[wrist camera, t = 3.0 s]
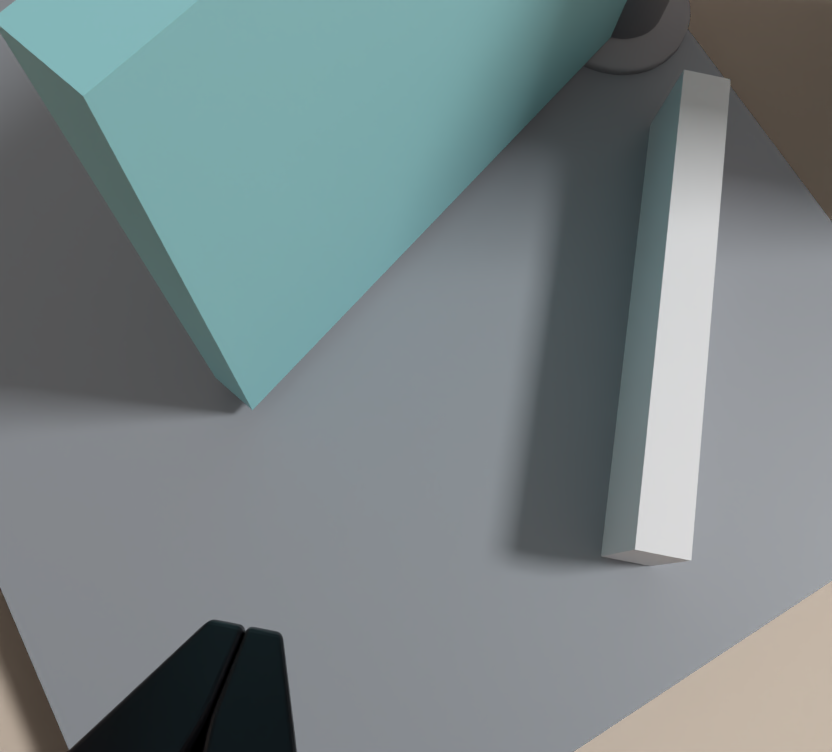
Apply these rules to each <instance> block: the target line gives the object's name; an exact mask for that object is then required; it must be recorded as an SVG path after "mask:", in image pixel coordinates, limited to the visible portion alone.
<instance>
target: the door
mask: <svg viewBox="0 0 832 752" xmlns="http://www.w3.org/2000/svg"><path fill="white" fill-rule="evenodd" d="M669 1H670V0H16V1H14V2H13V3H12V4H10V5H9V6H8V7H6V8H5V9H4V10H3V11H1V12H0V33H1V35H2V37H3V38H4V40H5V41H6V43H7V45H8V46H9V48H10V49H11V51H12V53H13V54H14V56H15V57H16V59H17V61H18V62H19V64H20V65H21V67H22V69H23V70H24V72H25V73H26V75H27V77H28V78H29V80H30V81H31V83H32V85H33V86H34V88H35V89H36V91H37V93H38V94H39V96H40V97H41V99H42V101H43V102H44V104H45V105H46V107H47V109H48V110H49V112H50V113H51V115H52V117H53V118H54V120H55V121H56V123H57V125H58V126H59V128H60V129H61V131H62V133H63V134H64V136H65V137H66V139H67V141H68V142H69V144H70V145H71V147H72V149H73V150H74V152H75V153H76V155H77V157H78V158H79V160H80V161H81V163H82V165H83V166H84V168H85V169H86V171H87V173H88V174H89V176H90V177H91V179H92V181H93V182H94V184H95V186H96V187H97V189H98V190H99V192H100V194H101V195H102V197H103V198H104V200H105V202H106V203H107V205H108V206H109V208H110V210H111V211H112V213H113V214H114V216H115V218H116V219H117V221H118V222H119V224H120V226H121V227H122V229H123V230H124V232H125V234H126V235H127V237H128V238H129V240H130V242H131V243H132V245H133V246H134V248H135V250H136V251H137V253H138V254H139V256H140V258H141V259H142V261H143V262H144V264H145V266H146V267H147V269H148V270H149V272H150V274H151V275H152V277H153V278H154V280H155V282H156V283H157V285H158V286H159V288H160V290H161V291H162V293H163V294H164V296H165V298H166V299H167V301H168V302H169V304H170V306H171V307H172V309H173V310H174V312H175V314H176V315H177V317H178V318H179V320H180V322H181V323H182V325H183V326H184V328H185V330H186V331H187V333H188V334H189V336H190V338H191V339H192V341H193V342H194V344H195V346H196V347H197V349H198V350H199V352H200V354H201V355H202V357H203V358H204V360H205V362H206V363H207V365H208V366H209V368H210V370H211V371H212V373H213V375H214V376H215V378H216V379H218V380H219V381H220V382H221V383H222V384H223V385H224V386H226V387H227V388H228V389H229V390H230V391H231V392H232V393H234V394H235V395H236V396H237V397H238V398H239V399H240V400H241V401H243V402H244V403H245V404H246V405H247V406H248V407H249V408H251V409H252V410H253V409H254V408H255V407H256V406H257V405H258V404H259V403H260V402H261V401H262V400H263V399H264V398H265V397H266V396H267V395H268V393H269V392H270V391H271V390H272V389H273V388H274V387H275V386H276V385H277V384H278V383H279V382H280V381H281V380H282V379H283V378H284V377H285V376H286V375H287V374H288V373H289V372H290V371H291V370H292V369H293V367H294V366H295V365H296V364H297V363H298V362H299V361H300V360H301V359H302V358H303V357H304V356H305V355H306V354H307V353H308V352H309V351H310V350H311V349H312V348H313V347H314V346H315V345H316V344H317V342H318V341H319V340H320V339H321V338H322V337H323V336H324V335H325V334H326V333H327V332H328V331H329V330H330V329H331V328H332V327H333V326H334V325H335V324H336V323H337V322H338V321H339V320H340V319H341V317H342V316H343V315H344V314H345V313H346V312H347V311H348V310H349V309H350V308H351V307H352V306H353V305H354V304H355V303H356V302H357V301H358V300H359V299H360V298H361V297H362V296H363V295H364V294H365V293H366V291H367V290H368V289H369V288H370V287H371V286H372V285H373V284H374V283H375V282H376V281H377V280H378V279H379V278H380V277H381V276H382V275H383V274H384V273H385V272H386V271H387V270H388V269H389V268H390V266H391V265H392V264H393V263H394V262H395V261H396V260H397V259H398V258H399V257H400V256H401V255H402V254H403V253H404V252H405V251H406V250H407V249H408V248H409V247H410V246H411V245H412V244H413V243H414V242H415V240H416V239H417V238H418V237H419V236H420V235H421V234H422V233H423V232H424V231H425V230H426V229H427V228H428V227H429V226H430V225H431V224H432V223H433V222H434V221H435V220H436V219H437V218H438V217H439V215H440V214H441V213H442V212H443V211H444V210H445V209H446V208H447V207H448V206H449V205H450V204H451V203H452V202H453V201H454V200H455V199H456V198H457V197H458V196H459V195H460V194H461V193H462V192H463V191H464V189H465V188H466V187H467V186H468V185H469V184H470V183H471V182H472V181H473V180H474V179H475V178H476V177H477V176H478V175H479V174H480V173H481V172H482V171H483V170H484V169H485V168H486V167H487V166H488V164H489V163H490V162H491V161H492V160H493V159H494V158H495V157H496V156H497V155H498V154H499V153H500V152H501V151H502V150H503V149H504V148H505V147H506V146H507V145H508V144H509V143H510V142H511V141H512V140H513V138H514V137H515V136H516V135H517V134H518V133H519V132H520V131H521V130H522V129H523V128H524V127H525V126H526V125H527V124H528V123H529V122H530V121H531V120H532V119H533V118H534V117H535V116H536V115H537V113H538V112H539V111H540V110H541V109H542V108H543V107H544V106H545V105H546V104H547V103H548V102H549V101H550V100H551V99H552V98H553V97H554V96H555V95H556V94H557V93H558V92H559V91H560V90H561V89H562V87H563V86H564V85H565V84H566V83H567V82H568V81H569V80H570V79H571V78H572V77H573V76H574V75H575V74H576V73H577V72H578V71H579V70H580V69H581V68H582V67H583V66H584V65H585V64H586V62H587V61H588V60H589V59H590V58H591V57H592V56H593V55H594V54H595V53H596V52H597V51H598V50H599V49H600V48H601V47H602V46H603V45H604V44H605V43H606V42H607V41H608V40H609V39H610V37H613V38H619V39H629V38H635V37H639V36H642V35H644V34H646V33H648V32H649V31H651V30H652V29H653V28H654V27H655V26H656V25H657V24H658V22H659V21H660V19H661V17H662V15H663V13H664V11H665V9H666V7H667V5H668V3H669Z"/></svg>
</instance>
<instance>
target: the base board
mask: <svg viewBox="0 0 832 752" xmlns="http://www.w3.org/2000/svg"><path fill="white" fill-rule="evenodd" d="M14 1H16V0H0V12H1V11H3V10H4V9H5V8H6V7H8V6H9V5H10V4H12V3H13V2H14ZM689 22H690V4H689V0H670V1H669V3H668V5H667V7H666V9H665V11H664V13H663V15H662V17H661V19H660V21H659V22H658V24H657V25H656V26H655V27H654V28H653V29H652V30H651V31H649V32H648V33H646V34H644V35H642V36H639V37H635V38H629V39H619V38H613V37H610V39H609V40H608V41H607V42H606V43H605V44H604V45H603V46H602V47H601V48H600V49H599V50H598V51H597V52H596V53H595V54H594V55H593V56H592V57H591V58H590V59H589V60H588V61H587V62H586V64H585V65H584V66H583V67H582V68H581V69H580V70H579V71H578V72H577V73H576V74H575V75H574V76H573V77H572V78H571V79H570V80H569V81H568V82H567V83H566V84H565V85H564V86H563V87H562V89H561V90H560V91H559V92H558V93H557V94H556V95H555V96H554V97H553V98H552V99H551V100H550V101H549V102H548V103H547V104H546V105H545V106H544V107H543V108H542V109H541V110H540V111H539V112H538V113H537V115H536V116H535V117H534V118H533V119H532V120H531V121H530V122H529V123H528V124H527V125H526V126H525V127H524V128H523V129H522V130H521V131H520V132H519V133H518V134H517V135H516V136H515V137H514V138H513V140H512V141H511V142H510V143H509V144H508V145H507V146H506V147H505V148H504V149H503V150H502V151H501V152H500V153H499V154H498V155H497V156H496V157H495V158H494V159H493V160H492V161H491V162H490V163H489V164H488V166H487V167H486V168H485V169H484V170H483V171H482V172H481V173H480V174H479V175H478V176H477V177H476V178H475V179H474V180H473V181H472V182H471V183H470V184H469V185H468V186H467V187H466V188H465V189H464V191H463V192H462V193H461V194H460V195H459V196H458V197H457V198H456V199H455V200H454V201H453V202H452V203H451V204H450V205H449V206H448V207H447V208H446V209H445V210H444V211H443V212H442V213H441V214H440V215H439V217H438V218H437V219H436V220H435V221H434V222H433V223H432V224H431V225H430V226H429V227H428V228H427V229H426V230H425V231H424V232H423V233H422V234H421V235H420V236H419V237H418V238H417V239H416V240H415V242H414V243H413V244H412V245H411V246H410V247H409V248H408V249H407V250H406V251H405V252H404V253H403V254H402V255H401V256H400V257H399V258H398V259H397V260H396V261H395V262H394V263H393V264H392V265H391V266H390V268H389V269H388V270H387V271H386V272H385V273H384V274H383V275H382V276H381V277H380V278H379V279H378V280H377V281H376V282H375V283H374V284H373V285H372V286H371V287H370V288H369V289H368V290H367V291H366V293H365V294H364V295H363V296H362V297H361V298H360V299H359V300H358V301H357V302H356V303H355V304H354V305H353V306H352V307H351V308H350V309H349V310H348V311H347V312H346V313H345V314H344V315H343V316H342V317H341V319H340V320H339V321H338V322H337V323H336V324H335V325H334V326H333V327H332V328H331V329H330V330H329V331H328V332H327V333H326V334H325V335H324V336H323V337H322V338H321V339H320V340H319V341H318V342H317V344H316V345H315V346H314V347H313V348H312V349H311V350H310V351H309V352H308V353H307V354H306V355H305V356H304V357H303V358H302V359H301V360H300V361H299V362H298V363H297V364H296V365H295V366H294V367H293V369H292V370H291V371H290V372H289V373H288V374H287V375H286V376H285V377H284V378H283V379H282V380H281V381H280V382H279V383H278V384H277V385H276V386H275V387H274V388H273V389H272V390H271V391H270V392H269V393H268V395H267V396H266V397H265V398H264V399H263V400H262V401H261V402H260V403H259V404H258V405H257V406H256V407H255V408H254V409H253V410H252V409H251V408H249V407H248V406H247V405H246V404H245V403H244V402H243V401H241V400H240V399H239V398H238V397H237V396H236V395H235V394H234V393H232V392H231V391H230V390H229V389H228V388H227V387H226V386H224V385H223V384H222V383H221V382H220V381H219V380H218V379H216V378H215V376H214V375H213V373H212V371H211V370H210V368H209V366H208V365H207V363H206V362H205V360H204V358H203V357H202V355H201V354H200V352H199V350H198V349H197V347H196V346H195V344H194V342H193V341H192V339H191V338H190V336H189V334H188V333H187V331H186V330H185V328H184V326H183V325H182V323H181V322H180V320H179V318H178V317H177V315H176V314H175V312H174V310H173V309H172V307H171V306H170V304H169V302H168V301H167V299H166V298H165V296H164V294H163V293H162V291H161V290H160V288H159V286H158V285H157V283H156V282H155V280H154V278H153V277H152V275H151V274H150V272H149V270H148V269H147V267H146V266H145V264H144V262H143V261H142V259H141V258H140V256H139V254H138V253H137V251H136V250H135V248H134V246H133V245H132V243H131V242H130V240H129V238H128V237H127V235H126V234H125V232H124V230H123V229H122V227H121V226H120V224H119V222H118V221H117V219H116V218H115V216H114V214H113V213H112V211H111V210H110V208H109V206H108V205H107V203H106V202H105V200H104V198H103V197H102V195H101V194H100V192H99V190H98V189H97V187H96V186H95V184H94V182H93V181H92V179H91V177H90V176H89V174H88V173H87V171H86V169H85V168H84V166H83V165H82V163H81V161H80V160H79V158H78V157H77V155H76V153H75V152H74V150H73V149H72V147H71V145H70V144H69V142H68V141H67V139H66V137H65V136H64V134H63V133H62V131H61V129H60V128H59V126H58V125H57V123H56V121H55V120H54V118H53V117H52V115H51V113H50V112H49V110H48V109H47V107H46V105H45V104H44V102H43V101H42V99H41V97H40V96H39V94H38V93H37V91H36V89H35V88H34V86H33V85H32V83H31V81H30V80H29V78H28V77H27V75H26V73H25V72H24V70H23V69H22V67H21V65H20V64H19V62H18V61H17V59H16V57H15V56H14V54H13V53H12V51H11V49H10V48H9V46H8V45H7V43H6V41H5V40H4V38H3V37H2V35H1V33H0V588H1V591H2V593H3V595H4V598H5V600H6V602H7V605H8V607H9V610H10V612H11V614H12V617H13V619H14V621H15V624H16V626H17V628H18V631H19V633H20V635H21V638H22V640H23V643H24V645H25V647H26V650H27V652H28V654H29V657H30V659H31V661H32V664H33V666H34V668H35V671H36V673H37V676H38V678H39V680H40V683H41V685H42V687H43V690H44V692H45V694H46V697H47V699H48V702H49V704H50V706H51V709H52V711H53V713H54V716H55V718H56V720H57V723H58V725H59V727H60V730H61V732H62V735H63V737H64V739H65V742H66V744H67V746H68V749H69V750H70V749H71V748H72V747H73V746H74V745H75V744H76V743H77V742H78V741H79V740H80V739H82V738H83V737H84V736H85V735H86V734H87V733H88V732H89V731H90V730H91V729H92V728H93V727H94V726H95V725H97V724H98V723H99V722H100V721H101V720H102V719H103V718H104V717H105V716H106V715H107V714H108V713H109V712H111V711H112V710H113V709H114V708H115V707H116V706H117V705H118V704H119V703H120V702H121V701H122V700H123V699H124V698H126V697H127V696H128V695H129V694H130V693H131V692H132V691H133V690H134V689H135V688H136V687H137V686H138V685H139V684H141V683H142V682H143V681H144V680H145V679H146V678H147V677H148V676H149V675H150V674H151V673H152V672H153V671H154V670H156V669H157V668H158V667H159V666H160V665H161V664H162V663H163V662H164V661H165V660H166V659H167V658H168V657H169V656H171V655H172V654H173V653H174V652H175V651H176V650H177V649H178V648H179V647H180V646H181V645H182V644H183V643H185V642H186V641H187V640H188V639H189V638H190V637H191V636H192V635H193V634H194V633H195V632H196V631H197V630H198V629H200V628H201V627H202V626H203V625H204V624H205V623H206V622H208V621H210V620H213V619H214V620H221V621H226V622H232V623H237V624H241V625H242V626H243V627H244V628H245V631H246V630H247V629H248V628H249V627H257V628H263V629H268V630H273V631H278V632H280V633H281V634H282V636H283V640H284V648H285V656H286V665H287V673H288V681H289V689H290V698H291V706H292V714H293V722H294V731H295V739H296V747H297V752H574V751H575V750H577V749H578V748H580V747H581V746H583V745H584V744H586V743H587V742H589V741H590V740H592V739H594V738H595V737H597V736H598V735H600V734H601V733H603V732H604V731H606V730H607V729H609V728H610V727H612V726H613V725H615V724H616V723H618V722H619V721H621V720H622V719H624V718H625V717H627V716H628V715H630V714H631V713H633V712H634V711H636V710H637V709H639V708H640V707H642V706H643V705H645V704H646V703H648V702H649V701H651V700H652V699H654V698H655V697H657V696H658V695H660V694H661V693H663V692H664V691H666V690H668V689H669V688H671V687H672V686H674V685H675V684H677V683H678V682H680V681H681V680H683V679H684V678H686V677H687V676H689V675H690V674H692V673H693V672H695V671H696V670H698V669H699V668H701V667H702V666H704V665H705V664H707V663H708V662H710V661H711V660H713V659H714V658H716V657H717V656H719V655H720V654H722V653H723V652H725V651H726V650H728V649H729V648H731V647H732V646H734V645H735V644H737V643H738V642H740V641H741V640H743V639H745V638H746V637H748V636H749V635H751V634H752V633H754V632H755V631H757V630H758V629H760V628H761V627H763V626H764V625H766V624H767V623H769V622H770V621H772V620H773V619H775V618H776V617H778V616H779V615H781V614H782V613H784V612H785V611H787V610H788V609H790V608H791V607H793V606H794V605H796V604H797V603H799V602H800V601H802V600H803V599H805V598H806V597H808V596H809V595H811V594H812V593H814V592H815V591H817V590H818V589H820V588H822V587H823V586H825V585H826V584H828V583H829V582H831V581H832V221H831V220H830V219H829V217H828V216H827V215H826V213H825V212H824V211H823V209H822V208H821V207H820V205H819V204H818V203H817V201H816V200H815V199H814V197H813V196H812V195H811V193H810V192H809V191H808V189H807V188H806V187H805V185H804V184H803V183H802V181H801V180H800V179H799V177H798V176H797V175H796V173H795V172H794V171H793V169H792V168H791V167H790V165H789V164H788V162H787V161H786V160H785V158H784V157H783V156H782V154H781V153H780V152H779V150H778V149H777V148H776V146H775V145H774V144H773V142H772V141H771V140H770V138H769V137H768V136H767V134H766V133H765V132H764V130H763V129H762V128H761V126H760V125H759V124H758V122H757V121H756V120H755V118H754V117H753V116H752V114H751V113H750V112H749V110H748V109H747V108H746V106H745V105H744V104H743V102H742V101H741V100H740V98H739V97H738V96H737V94H736V93H735V92H734V90H733V89H732V87H731V86H730V80H731V79H728V78H724V77H723V75H722V74H721V73H720V71H719V70H718V69H717V67H716V66H715V65H714V63H713V62H712V61H711V59H710V58H709V57H708V55H707V54H706V53H705V51H704V50H703V49H702V47H701V46H700V45H699V43H698V42H697V41H696V39H695V38H694V37H693V35H692V34H691V33H690V31H689V30H688V26H689Z"/></svg>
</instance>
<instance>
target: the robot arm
mask: <svg viewBox="0 0 832 752" xmlns="http://www.w3.org/2000/svg"><path fill="white" fill-rule="evenodd" d="M68 752H297V747H296V739H295V731H294V722H293V714H292V706H291V698H290V689H289V681H288V673H287V665H286V656H285V648H284V640H283V636H282V634H281V633H280V632H278V631H273V630H268V629H263V628H257V627H249V628H248V629H247V630H246V631H245V628H244V627H243V626H242V625H241V624H237V623H232V622H226V621H221V620H214V619H213V620H210V621H208V622H206V623H205V624H204V625H203V626H202V627H201V628H200V629H198V630H197V631H196V632H195V633H194V634H193V635H192V636H191V637H190V638H189V639H188V640H187V641H186V642H185V643H183V644H182V645H181V646H180V647H179V648H178V649H177V650H176V651H175V652H174V653H173V654H172V655H171V656H169V657H168V658H167V659H166V660H165V661H164V662H163V663H162V664H161V665H160V666H159V667H158V668H157V669H156V670H154V671H153V672H152V673H151V674H150V675H149V676H148V677H147V678H146V679H145V680H144V681H143V682H142V683H141V684H139V685H138V686H137V687H136V688H135V689H134V690H133V691H132V692H131V693H130V694H129V695H128V696H127V697H126V698H124V699H123V700H122V701H121V702H120V703H119V704H118V705H117V706H116V707H115V708H114V709H113V710H112V711H111V712H109V713H108V714H107V715H106V716H105V717H104V718H103V719H102V720H101V721H100V722H99V723H98V724H97V725H95V726H94V727H93V728H92V729H91V730H90V731H89V732H88V733H87V734H86V735H85V736H84V737H83V738H82V739H80V740H79V741H78V742H77V743H76V744H75V745H74V746H73V747H72V748H71V749H70V750H69V751H68Z"/></svg>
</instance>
